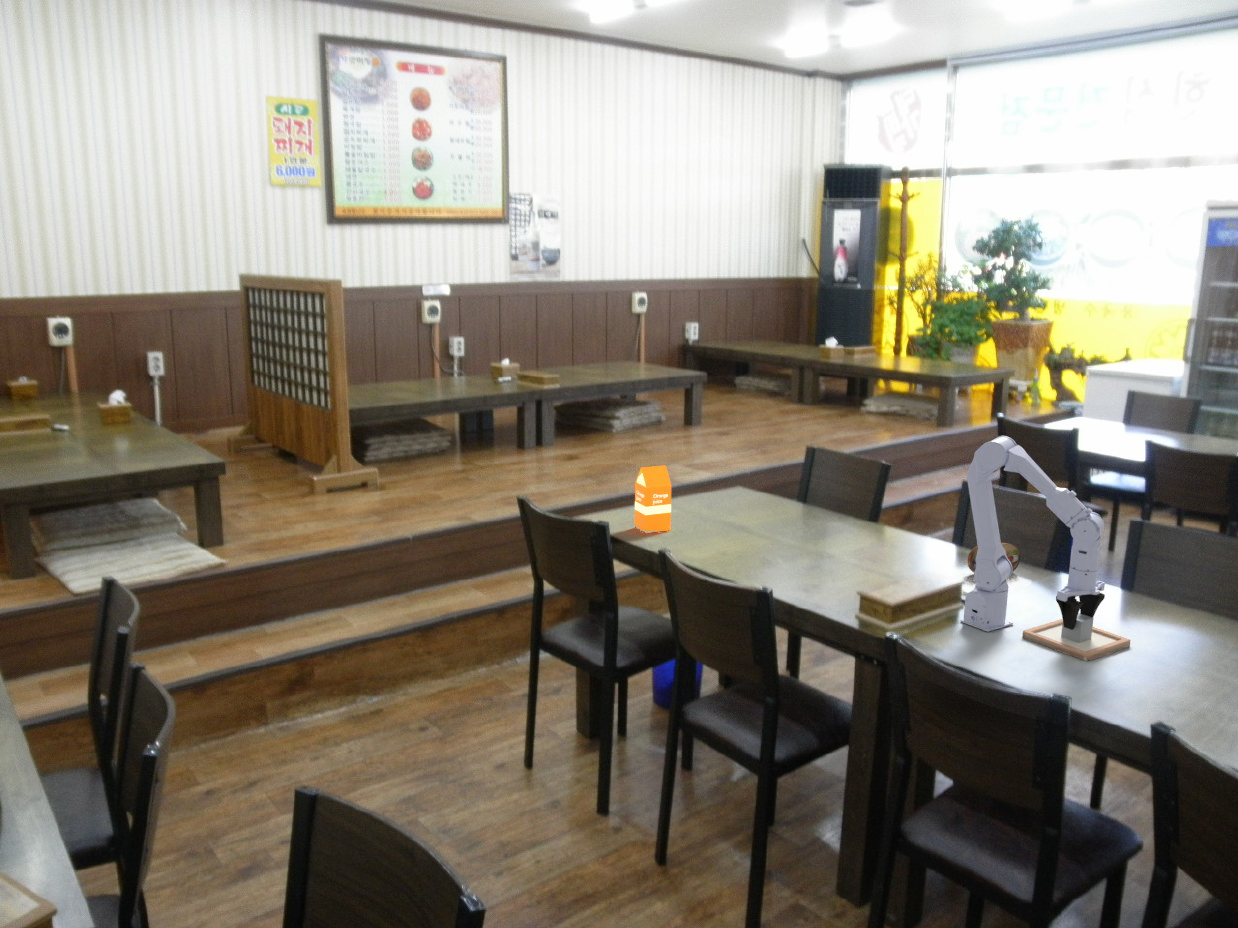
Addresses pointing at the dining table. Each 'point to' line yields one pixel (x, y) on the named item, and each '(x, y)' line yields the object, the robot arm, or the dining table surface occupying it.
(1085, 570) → the robot arm
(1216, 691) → the dining table surface
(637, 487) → the orange juice
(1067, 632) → the block
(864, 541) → the dining table surface
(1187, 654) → the dining table surface
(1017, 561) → the tin
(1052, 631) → the picture frame
